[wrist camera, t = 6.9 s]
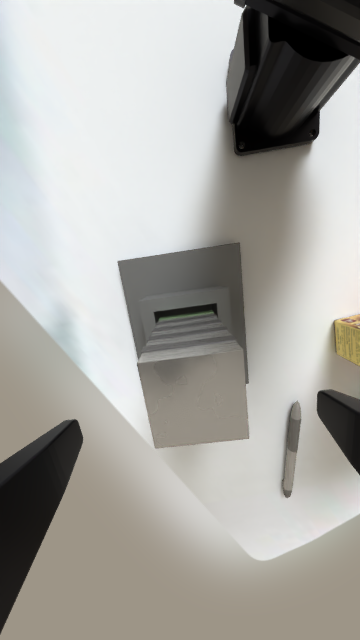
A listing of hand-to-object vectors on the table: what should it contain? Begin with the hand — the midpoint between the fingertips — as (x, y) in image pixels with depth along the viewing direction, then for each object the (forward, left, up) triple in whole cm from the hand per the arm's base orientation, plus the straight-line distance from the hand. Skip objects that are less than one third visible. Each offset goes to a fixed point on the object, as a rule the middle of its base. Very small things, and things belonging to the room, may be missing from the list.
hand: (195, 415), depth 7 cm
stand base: (0, 0, -13) cm, 13 cm away
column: (0, 0, -8) cm, 8 cm away
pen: (-10, +17, -13) cm, 24 cm away
